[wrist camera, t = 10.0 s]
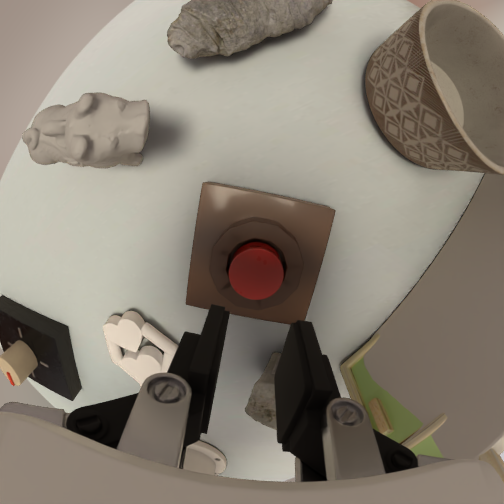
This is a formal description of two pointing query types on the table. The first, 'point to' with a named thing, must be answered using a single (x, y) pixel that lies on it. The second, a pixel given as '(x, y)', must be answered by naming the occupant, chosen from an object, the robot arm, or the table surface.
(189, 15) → the seashell
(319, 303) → the table surface
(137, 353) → the white abstract figurine
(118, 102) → the dog figurine
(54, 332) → the panel
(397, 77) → the planter
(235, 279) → the button
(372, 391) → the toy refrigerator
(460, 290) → the grey rectangular panel
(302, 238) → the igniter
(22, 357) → the knob
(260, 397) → the mineral specimen
